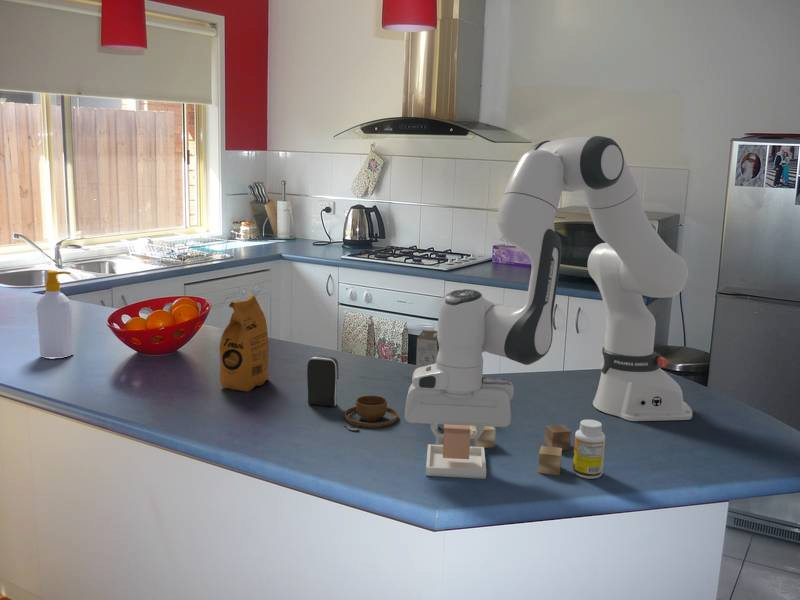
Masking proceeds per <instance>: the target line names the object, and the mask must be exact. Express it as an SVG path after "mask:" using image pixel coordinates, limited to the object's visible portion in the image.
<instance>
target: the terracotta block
mask: <svg viewBox="0 0 800 600" xmlns="http://www.w3.org/2000/svg"><path fill="white" fill-rule="evenodd" d="M443 434H444V437H443V458H452V459H469V450H470V425H450V424H443Z"/></svg>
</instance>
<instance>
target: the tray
mask: <svg viewBox="0 0 800 600" xmlns="http://www.w3.org/2000/svg"><path fill="white" fill-rule="evenodd" d="M426 451H427V452H426V463H425V464H426V465H425V476H428V477H429V476H430V477H447V478H466V479H467V478H468V479H469V478H470V479H483V480H484V479H487V463H486V456H485V455H486V454H485V453H486V452H485V448H484V447H470V450H469V459H452V458H443V445H436V444H429V443H428V444H427V450H426Z"/></svg>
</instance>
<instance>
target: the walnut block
mask: <svg viewBox="0 0 800 600" xmlns="http://www.w3.org/2000/svg"><path fill="white" fill-rule="evenodd" d="M571 441H572V430H570V429H569V428H568V427H567V426H566V425H565V424H547V425H545V427H544V445H545V446H550V447H558V448H562V451H567V450H571V445H572V444H571V443H572V442H571Z"/></svg>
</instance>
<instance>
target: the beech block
mask: <svg viewBox="0 0 800 600" xmlns="http://www.w3.org/2000/svg"><path fill="white" fill-rule="evenodd" d="M476 431H477V430H476V426H471V425H470V435H474V434H475V432H476ZM477 447H484V449H485V448H487V449H488V448H495V447H496V427H491V426H484V430H483V433H482V434H481V435H480V437H479V438H478V439H477Z"/></svg>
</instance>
